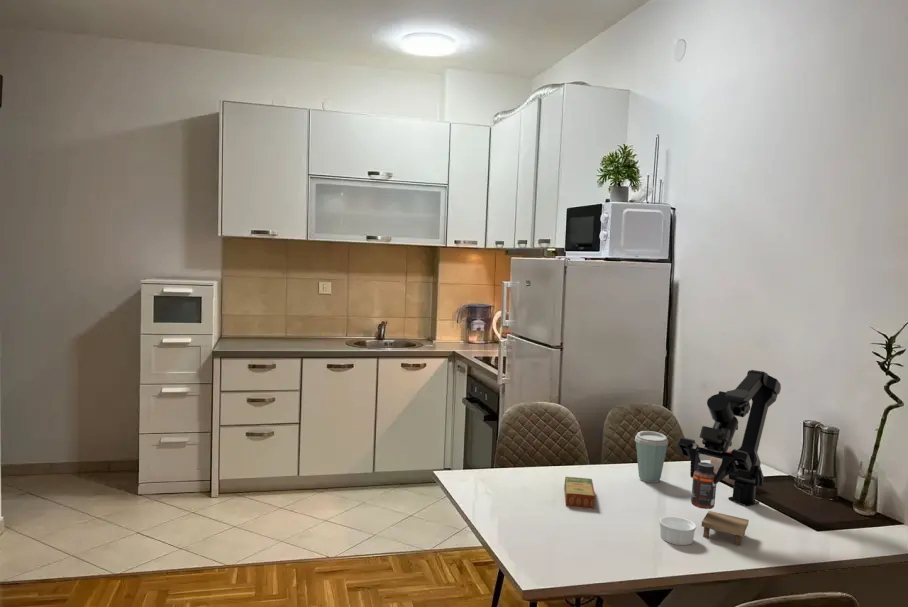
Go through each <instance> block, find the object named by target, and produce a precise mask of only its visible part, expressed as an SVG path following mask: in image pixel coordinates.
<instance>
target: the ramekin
mask: <svg viewBox="0 0 908 607" xmlns="http://www.w3.org/2000/svg"><path fill="white" fill-rule="evenodd" d="M659 527H660V530H659V531H660V532H659V533H660V534H659V535H660V537H661V539H662V540H663V541H665V542H667V543H668V544H673V545H677V546H689V545H691V544H692V543H693V542H694V538H695V531H696V529H697V525H696V524H695V523H694V522H693V521H691V520H690V519H686V518H684V517H679V516H663V517H660V519H659Z"/></svg>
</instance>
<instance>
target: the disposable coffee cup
mask: <svg viewBox="0 0 908 607" xmlns="http://www.w3.org/2000/svg"><path fill="white" fill-rule="evenodd" d="M634 436H635V438H634V442H635V447H636V448H635V449H636V457H637V468H638V477H639V480H640V479H641V480H640V481H642V480H643V481H642V482H645V481H646V482H645V483H650V482H651V483H652V484H653V483H655V484H656V483H659V482H660V480H661V478H662V473H663V468H664V463H665V458H666V453H667V448H668V445H669V439H668V438H667V436H666V435H664V433H661V432H657V431H652V430H651V431H650V430H641V431H639V432H637V434H636V435H634ZM651 483H650V484H651Z"/></svg>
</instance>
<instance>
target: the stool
mask: <svg viewBox="0 0 908 607" xmlns="http://www.w3.org/2000/svg"><path fill="white" fill-rule="evenodd" d="M748 526H749V519H747V518H743V517H739V516H733V515H729V514H726V513H721V512H716V511H712V510H708V511H707V513H706V514H705V515H704V517H703V519H702V520H701V527H703V534H702V535H703V537H704V538H707V539H709V538H710V533H711V532H710V531H711V529H712V530H715V531H719V532H723V533H728V534H732V535H735V536H734V545H736V546H741V543H742V542H741V541H742V537H745V536H746V535H745V534H746V530H747V528H748Z"/></svg>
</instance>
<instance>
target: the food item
mask: <svg viewBox="0 0 908 607" xmlns="http://www.w3.org/2000/svg"><path fill="white" fill-rule="evenodd" d="M727 453H730V454H731V453H732V450H731V451H727ZM709 458H710V462H709V463H710V464H713V465H714V470H713V471H714V473H715V474H717V472H718V470H719V468H720V466H721V463H722V459H719V458H715V457H711V456H709ZM721 481H723V482H725V483H727V484H729V485H731V486H733V487H734V481H735V480H730V479H729V475H727V476H726V477H724V478H723V479H722V480H721Z"/></svg>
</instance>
